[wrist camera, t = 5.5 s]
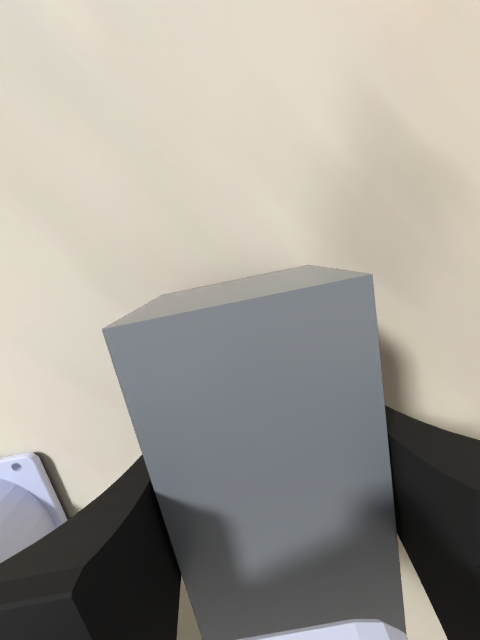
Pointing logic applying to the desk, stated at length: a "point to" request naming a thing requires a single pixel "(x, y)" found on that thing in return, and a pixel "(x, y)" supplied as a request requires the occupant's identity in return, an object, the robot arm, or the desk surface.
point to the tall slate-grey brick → (268, 447)
